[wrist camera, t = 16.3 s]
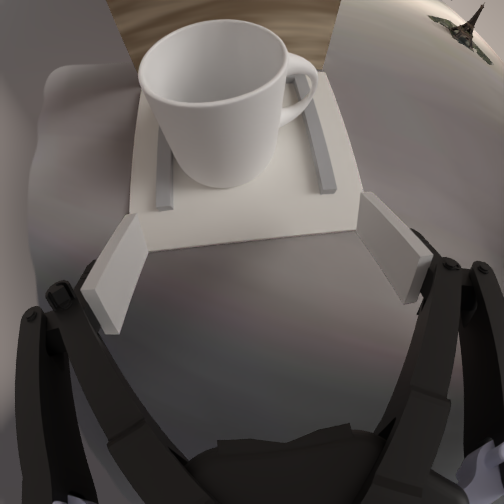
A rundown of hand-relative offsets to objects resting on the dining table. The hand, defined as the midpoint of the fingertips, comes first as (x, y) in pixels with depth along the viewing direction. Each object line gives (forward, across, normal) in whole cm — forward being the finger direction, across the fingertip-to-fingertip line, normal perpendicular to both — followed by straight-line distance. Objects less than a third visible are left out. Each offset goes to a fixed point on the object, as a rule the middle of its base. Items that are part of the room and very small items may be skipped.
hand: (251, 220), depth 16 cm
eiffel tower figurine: (+33, +48, +23) cm, 63 cm away
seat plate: (+11, 0, +2) cm, 11 cm away
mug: (+11, 0, +2) cm, 11 cm away
